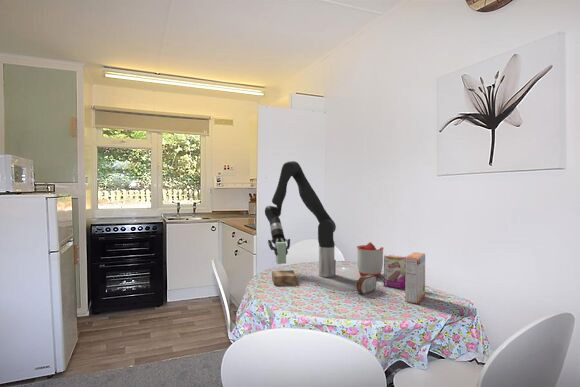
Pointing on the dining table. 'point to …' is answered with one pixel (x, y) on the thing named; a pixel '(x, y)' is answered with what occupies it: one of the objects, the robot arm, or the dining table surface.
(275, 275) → the wooden block
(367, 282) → the tin
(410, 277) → the cracker box
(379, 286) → the dining table surface
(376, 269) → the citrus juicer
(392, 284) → the candy bar box
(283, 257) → the green pillar
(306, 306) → the dining table surface
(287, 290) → the dining table surface
